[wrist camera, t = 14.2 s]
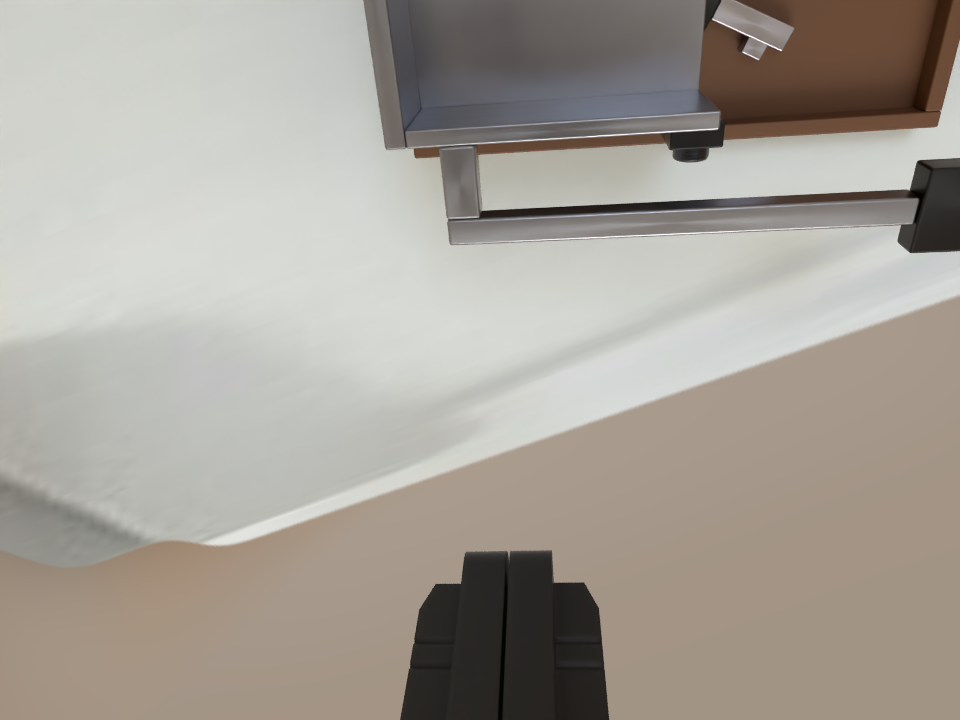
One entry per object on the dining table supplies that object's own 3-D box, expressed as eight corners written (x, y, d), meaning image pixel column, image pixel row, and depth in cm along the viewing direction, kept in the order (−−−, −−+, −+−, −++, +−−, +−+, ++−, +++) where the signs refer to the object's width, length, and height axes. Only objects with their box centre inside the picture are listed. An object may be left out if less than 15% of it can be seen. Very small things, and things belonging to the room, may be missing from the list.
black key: (677, -58, 24) (681, -58, 24) (805, 1, 25) (811, 3, 24) (643, 18, 26) (645, 20, 25) (764, 72, 26) (769, 75, 26)
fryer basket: (360, -244, 17) (318, -285, 14) (1113, -340, 15) (1259, -412, 12) (421, 230, 24) (403, 274, 21) (956, 205, 22) (1025, 249, 19)
